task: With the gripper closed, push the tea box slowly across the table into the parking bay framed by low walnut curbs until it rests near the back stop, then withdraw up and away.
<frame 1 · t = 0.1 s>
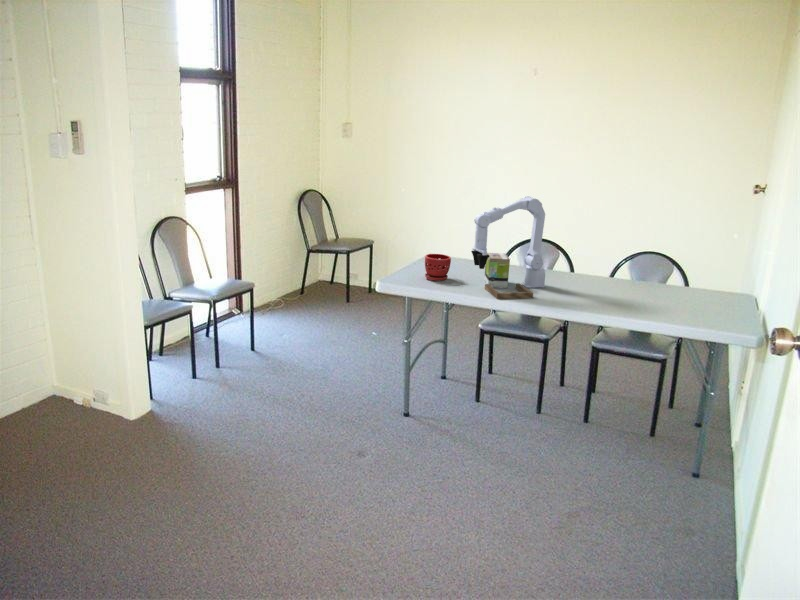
hand: (479, 266, 327), 10 cm above the table, tool pointing down, fingers open, 7 cm apart
parking bay: (507, 293, 321), on the table
plant pot: (436, 279, 344), on the table
tea box: (495, 284, 337), on the table
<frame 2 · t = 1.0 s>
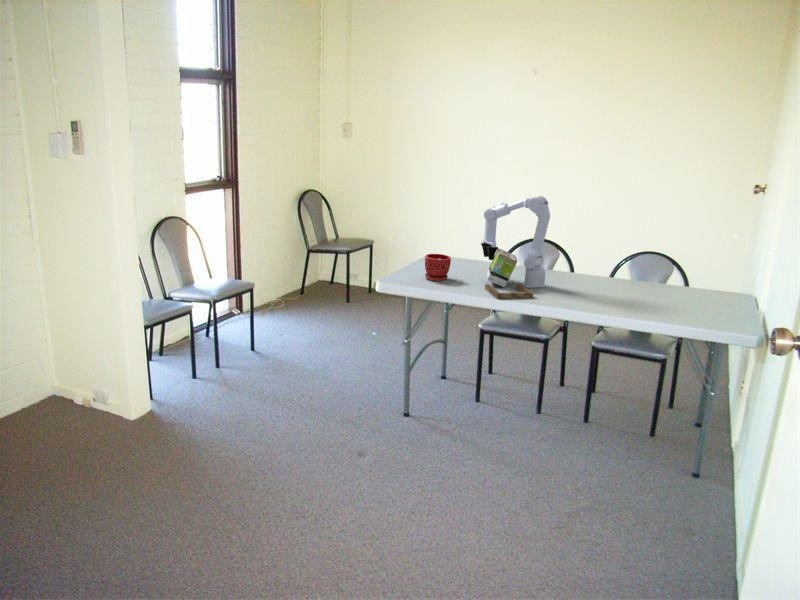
hand: (488, 258, 346), 10 cm above the table, tool pointing down, fingers open, 7 cm apart
tea box: (495, 281, 337), point 1 cm above the table, touching gripper
everything else where it was.
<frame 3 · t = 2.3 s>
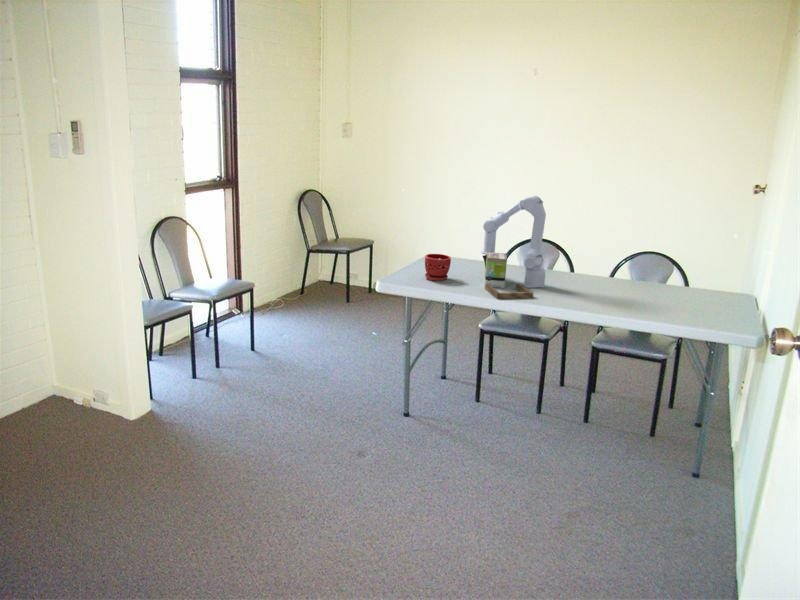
hand: (487, 269, 348), 4 cm above the table, tool pointing down, fingers closed
tea box: (494, 284, 337), on the table
everything else where it was.
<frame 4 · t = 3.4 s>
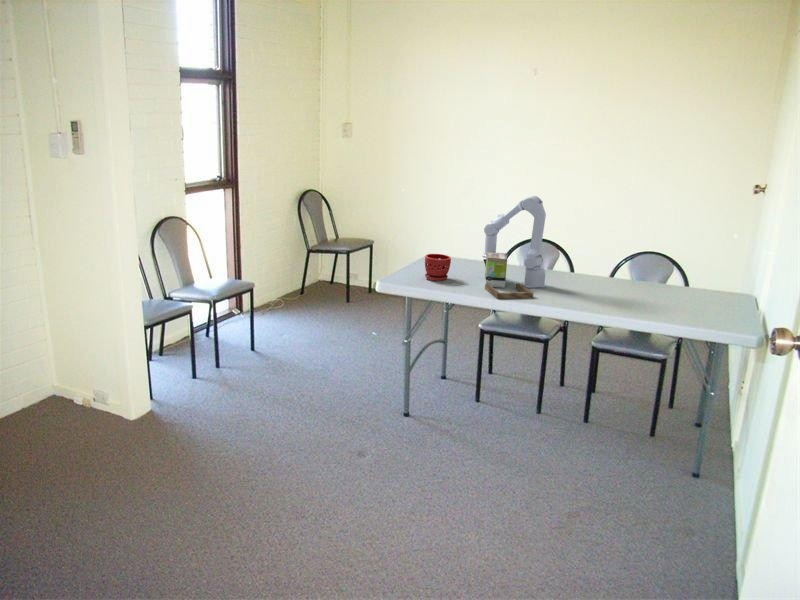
hand: (488, 273, 347), 3 cm above the table, tool pointing down, fingers closed
tea box: (494, 284, 337), on the table, touching gripper
everything else where it was.
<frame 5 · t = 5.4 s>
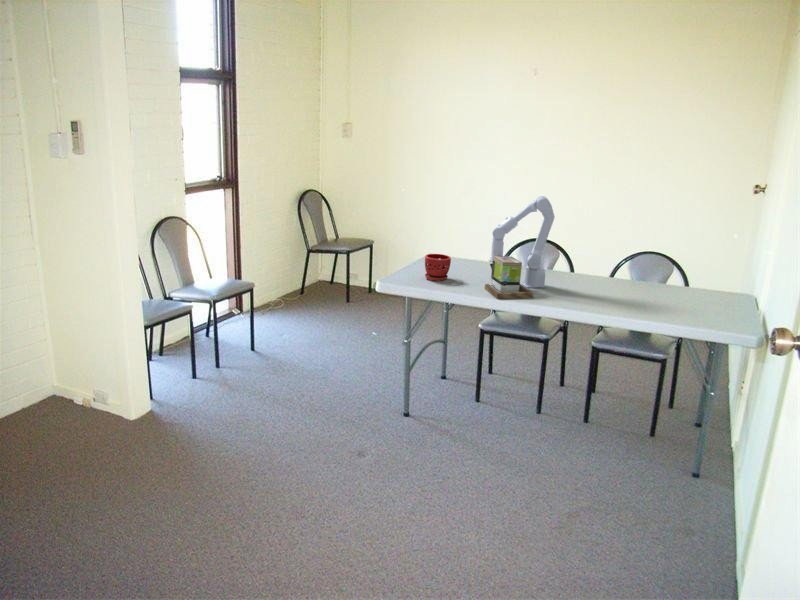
hand: (495, 278, 337), 3 cm above the table, tool pointing down, fingers closed
tea box: (504, 288, 329), on the table, touching gripper
everything else where it was.
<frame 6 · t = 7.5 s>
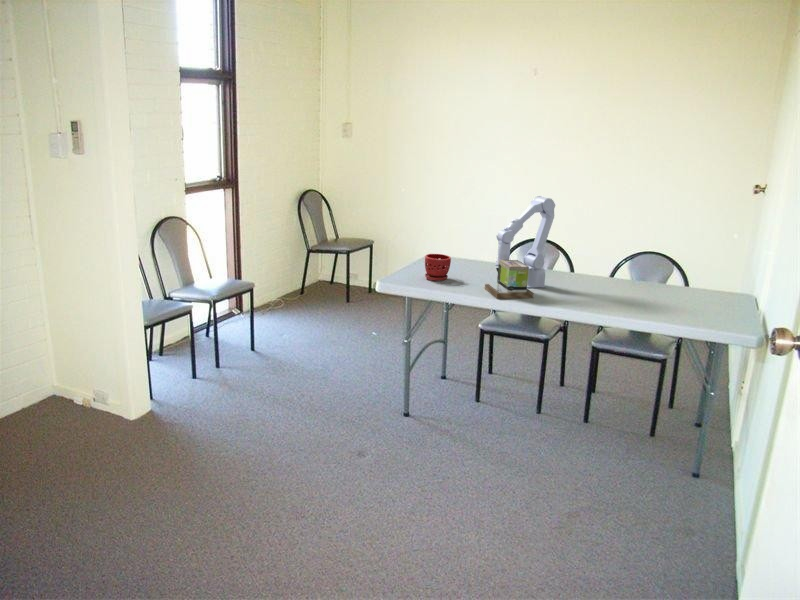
hand: (501, 282, 328), 3 cm above the table, tool pointing down, fingers closed
tea box: (511, 293, 320), resting in parking bay, touching gripper
everything else where it was.
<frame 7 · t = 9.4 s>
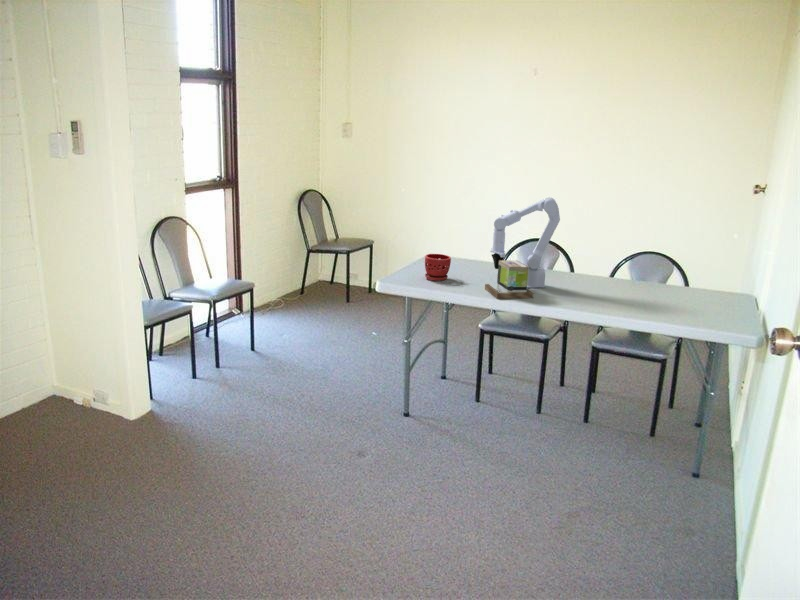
hand: (497, 268, 336), 8 cm above the table, tool pointing down, fingers closed
tea box: (511, 293, 320), resting in parking bay
everything else where it was.
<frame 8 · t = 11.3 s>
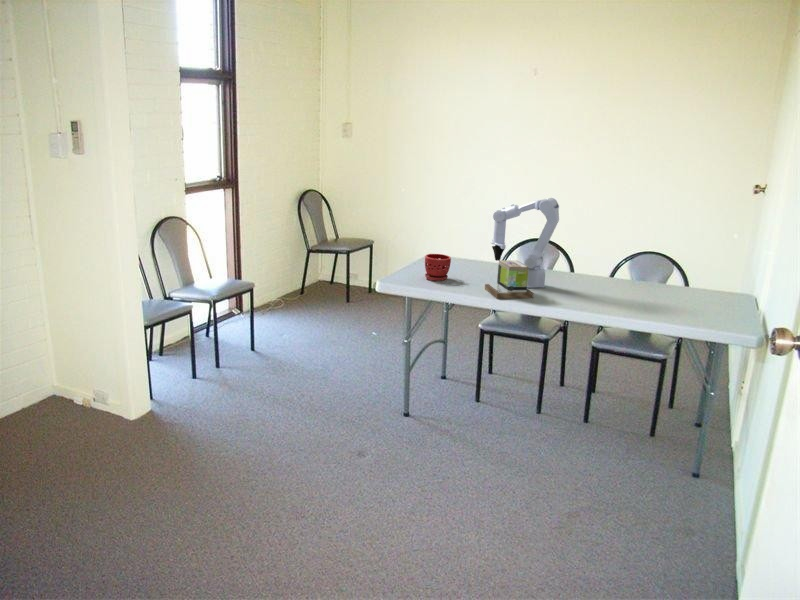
hand: (497, 260, 342), 10 cm above the table, tool pointing down, fingers closed
nothing on the table moved.
at the end: tea box 2.2 cm from the target spot on the parking bay, point 0.0 cm above the parking bay's base; tea box tilted 0° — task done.
